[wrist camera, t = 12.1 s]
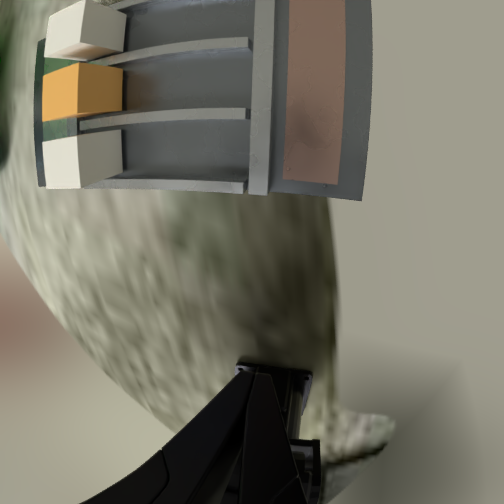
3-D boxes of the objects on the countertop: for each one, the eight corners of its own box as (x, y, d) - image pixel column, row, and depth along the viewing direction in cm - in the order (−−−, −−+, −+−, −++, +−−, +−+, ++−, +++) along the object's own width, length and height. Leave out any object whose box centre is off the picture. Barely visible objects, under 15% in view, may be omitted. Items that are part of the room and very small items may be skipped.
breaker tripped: (121, 110, 16) (77, 113, 12) (87, 116, 16) (42, 121, 12) (122, 68, 14) (79, 62, 11) (87, 77, 15) (43, 75, 11)
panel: (358, 196, 17) (364, 206, 15) (48, 183, 20) (30, 189, 18) (366, 0, 11) (373, -14, 10) (47, 42, 15) (29, 41, 13)
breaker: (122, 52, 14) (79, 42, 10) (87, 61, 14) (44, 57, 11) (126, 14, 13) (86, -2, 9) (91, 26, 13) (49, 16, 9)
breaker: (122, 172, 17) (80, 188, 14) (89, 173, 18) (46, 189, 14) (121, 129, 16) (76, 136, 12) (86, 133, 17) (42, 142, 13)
